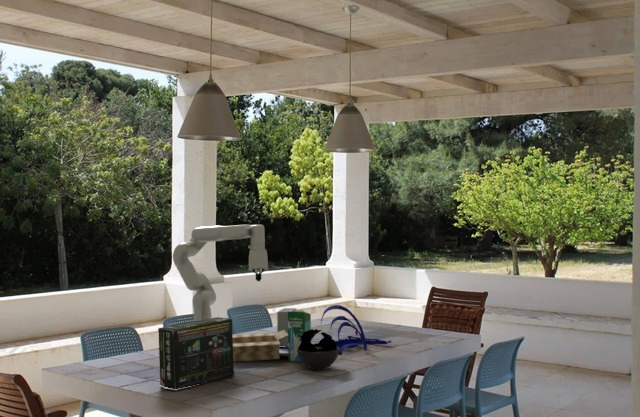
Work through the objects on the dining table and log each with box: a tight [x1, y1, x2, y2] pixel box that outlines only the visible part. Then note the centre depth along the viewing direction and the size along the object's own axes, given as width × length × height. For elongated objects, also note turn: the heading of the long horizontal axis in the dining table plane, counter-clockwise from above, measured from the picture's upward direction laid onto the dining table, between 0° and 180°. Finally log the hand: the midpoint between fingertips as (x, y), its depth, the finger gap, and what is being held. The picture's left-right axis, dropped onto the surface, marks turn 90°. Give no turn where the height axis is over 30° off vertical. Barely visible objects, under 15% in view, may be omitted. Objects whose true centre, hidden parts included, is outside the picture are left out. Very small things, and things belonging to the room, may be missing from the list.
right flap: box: [274, 330, 288, 340], centre depth 390 cm, size 1×17×6 cm
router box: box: [157, 316, 235, 389], centre depth 335 cm, size 36×11×27 cm, turn 140°
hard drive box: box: [276, 307, 298, 347], centre depth 416 cm, size 16×8×20 cm, turn 168°
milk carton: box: [287, 309, 312, 362], centre depth 379 cm, size 9×9×25 cm
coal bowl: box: [297, 328, 340, 371], centre depth 356 cm, size 20×20×19 cm
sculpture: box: [320, 304, 393, 355], centre depth 407 cm, size 35×34×26 cm
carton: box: [232, 332, 281, 363], centre depth 387 cm, size 24×32×9 cm
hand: (258, 281), depth 407 cm, fingers closed
